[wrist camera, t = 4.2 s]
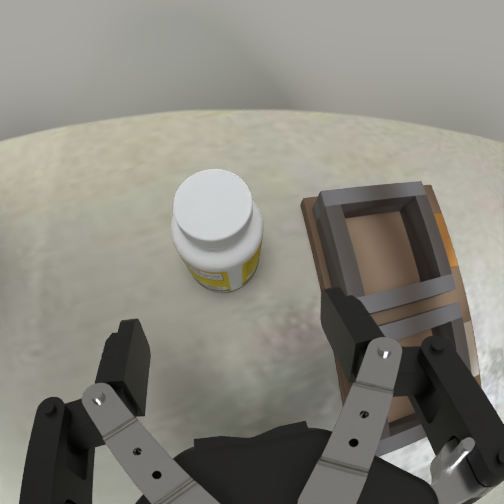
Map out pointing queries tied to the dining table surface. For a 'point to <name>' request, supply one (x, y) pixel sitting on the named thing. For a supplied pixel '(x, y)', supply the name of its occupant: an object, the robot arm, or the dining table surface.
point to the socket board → (393, 276)
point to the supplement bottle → (217, 229)
